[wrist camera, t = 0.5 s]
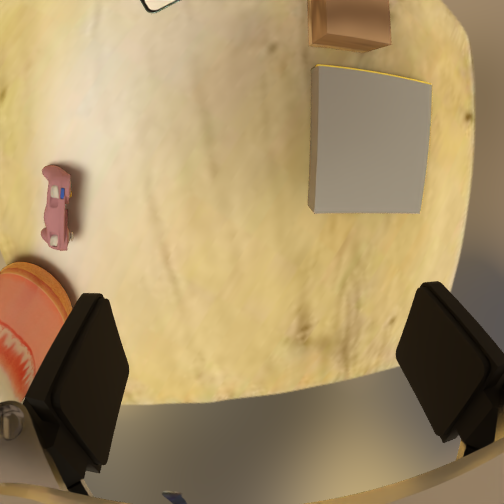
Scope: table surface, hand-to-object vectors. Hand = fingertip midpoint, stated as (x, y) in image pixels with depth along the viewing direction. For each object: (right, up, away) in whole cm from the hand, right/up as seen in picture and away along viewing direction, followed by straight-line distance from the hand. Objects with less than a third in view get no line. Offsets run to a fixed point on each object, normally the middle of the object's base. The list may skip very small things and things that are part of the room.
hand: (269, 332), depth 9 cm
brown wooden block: (+9, +28, +18) cm, 34 cm away
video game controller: (-24, +9, +25) cm, 36 cm away
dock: (+13, +15, +25) cm, 32 cm away
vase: (-33, -4, +31) cm, 45 cm away
